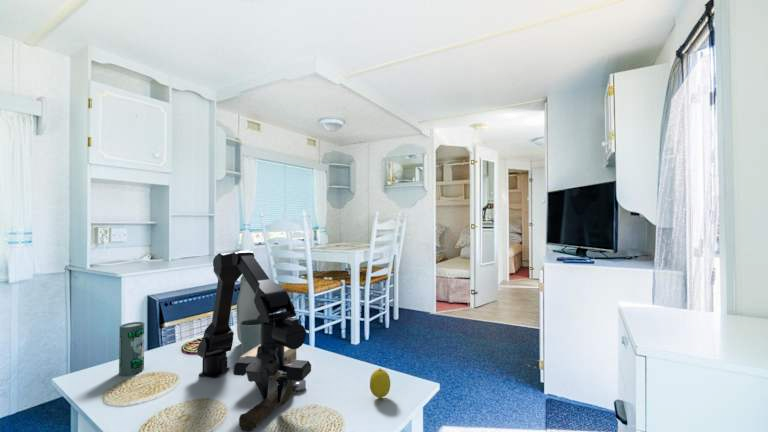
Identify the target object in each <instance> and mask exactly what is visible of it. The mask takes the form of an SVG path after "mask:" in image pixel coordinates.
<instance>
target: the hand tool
mask: <svg viewBox="0 0 768 432" xmlns="http://www.w3.org/2000/svg"><path fill="white" fill-rule="evenodd" d="M293 394H294V393H293V380H290V381H289V383H288V386H287V388H286V391H285V393H284V396H283V399H282V401H281V403H278V385H276V389H275V390H273V392H272V393H270V394H268V397H266V398H265V399H264V400H263V399H262V400H261V401H260V402H259V403H258V404H255V406H253V407H252V408H250V409H249V410H247V411H246V412H245V413H241V414H240V415H239V417H238V427H239V428H240V430H241V431H243V432H251V431H253V430H254V428H256V427H257V425H258V423H260V421H262V420H263V419H264V418H266V416H267V415H269V414H271V412H273V411H274V410H275V409H276V408H277V407H279V405H280V404H284V403H285V404H286V402H287V401H288V400H289V399H290V397H292V395H293Z"/></svg>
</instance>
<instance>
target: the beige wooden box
mask: <svg viewBox="0 0 768 432" xmlns="http://www.w3.org/2000/svg"><path fill="white" fill-rule="evenodd" d="M260 345H261V344H259V345H258V346H256V347H255V348H253V349H251V350H250V351H248V352H247V353H245V354H243V355H242V354H241V355H240V356H239V360H241V359H242V358H244V357H246V356H254V357H256V355H257V349H258V347H259V346H260ZM284 356H287V360H286V361H285V362H284V364H292V363H293V362H295V361H296V360H297V349H290V348H287V347H285V346H284ZM280 375H281V374H280V372H277V373H276V375H275V376H269V379H278V378H279V377H280Z"/></svg>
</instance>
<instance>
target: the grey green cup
mask: <svg viewBox="0 0 768 432" xmlns="http://www.w3.org/2000/svg"><path fill="white" fill-rule="evenodd" d="M240 333H241V340H242V341H241V342H240V344H241V353H242V354H241V356H242V355H243V354H245V353H247V352H248V351H250V350H251V349H253V348H255V347H256V346H258V345H259V344H261V321H260V320H258V319H257V318H252V319H247V320H244V321H242V322H240Z"/></svg>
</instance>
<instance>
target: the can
mask: <svg viewBox="0 0 768 432" xmlns="http://www.w3.org/2000/svg"><path fill="white" fill-rule="evenodd" d="M118 339H119V341H118V342H119V343H118V344H119V346H118V347H119V348H118V355H119V356H118V375H119V376H120V377H121V376H122V377H129V376H134V375H136V374H139V373H142V372H143V370H144V369H145V322H144V321H132V322H127V323H124V324H121V325H119V338H118Z"/></svg>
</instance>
